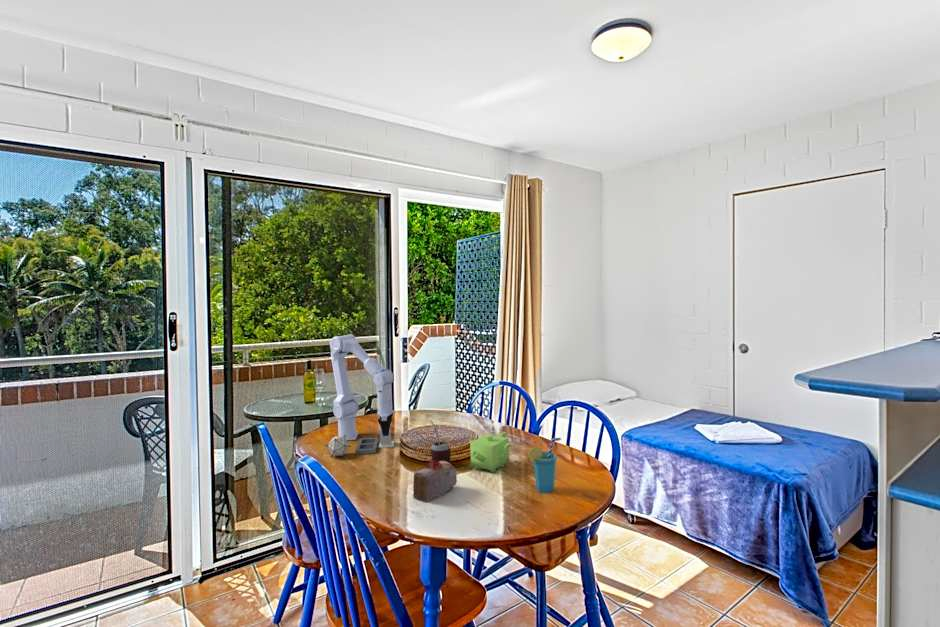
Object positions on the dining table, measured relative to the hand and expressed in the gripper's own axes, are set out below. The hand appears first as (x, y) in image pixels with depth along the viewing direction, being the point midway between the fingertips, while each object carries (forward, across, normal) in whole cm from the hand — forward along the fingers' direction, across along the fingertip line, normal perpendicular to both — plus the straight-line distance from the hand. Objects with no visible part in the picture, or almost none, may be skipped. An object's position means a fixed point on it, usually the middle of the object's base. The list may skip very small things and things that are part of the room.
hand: (386, 433), depth 200 cm
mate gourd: (+5, -27, -20) cm, 34 cm away
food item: (+5, -50, -18) cm, 53 cm away
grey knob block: (+4, 0, 0) cm, 4 cm away
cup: (+5, -53, -52) cm, 75 cm away
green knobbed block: (+5, -32, -38) cm, 50 cm away
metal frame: (+5, -2, +8) cm, 9 cm away
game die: (+5, -10, +18) cm, 21 cm away
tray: (+5, 0, 0) cm, 5 cm away
